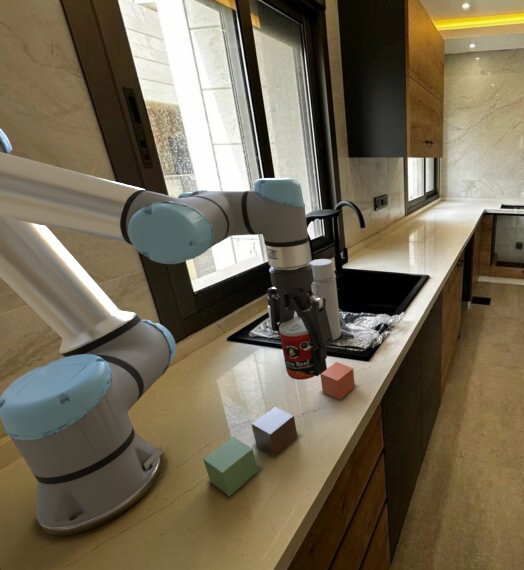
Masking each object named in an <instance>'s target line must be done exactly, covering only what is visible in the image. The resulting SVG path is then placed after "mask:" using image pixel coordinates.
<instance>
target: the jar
mask: <svg viewBox="0 0 524 570" xmlns="http://www.w3.org/2000/svg"><path fill="white" fill-rule="evenodd" d="M266 300H267V311H268V316H269V323H270V324H271V313H270V300H269V297H268V295H267V296H266ZM296 316H298V315H297V313H296V311H295V313H294V317H296ZM278 323H279V322H278ZM278 323H277V324H278ZM270 328H271V332H272V333H274V334H278V332H277V331H275V332H274V331H273V330H272V326H271V325H270Z"/></svg>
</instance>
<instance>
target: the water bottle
mask: <svg viewBox="0 0 524 570" xmlns="http://www.w3.org/2000/svg"><path fill="white" fill-rule="evenodd" d="M309 263H310V264H312V269H313V277H314V281H313V283H312V285H311V289H312V292H313V294H314V296H315V297H318V298H321V297H324V298H325V299H326V312H327V316H328V321H329V325H330V329H331V333H332V337H333V341H335V340H338V339H339V338H340V337H341V335H342V329H341V318H340V310H339V300H338V298H339V297H338V289H337V288H338V287H337V279H336V278H337V275H336V273H335V269H334V263H333V260H332V259H329V258H319V259H313V260H311V261H310V262H309Z"/></svg>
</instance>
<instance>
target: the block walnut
mask: <svg viewBox="0 0 524 570" xmlns="http://www.w3.org/2000/svg"><path fill="white" fill-rule="evenodd" d="M250 424H251V427H252V434H253V437H254V441H255V445H256V446H257V447H258V448H259V449H262V450H264V451H265V452H266V453H268V454H270V455H271V456H273V457H276V456H277V455H278V454H280V453H281V452H282V451H283V450H284V449H285V448H286V447H288V446H289V445H290V444H291V443H292V442H293V441H295V440H296V439H297V438H298V430H297V426H296V420H295V416H294V414H291V413H290V412H287V411H285V410H283V409H281V408H279V407H277V406H276V405H275V406H273V407H272V408H271V409H270V410H268V411H267V412H266V413H264V414H263V415H262V416H260V417H259V418H258V419H256V420H254V421H253V422H252V423H250Z"/></svg>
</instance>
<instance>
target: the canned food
mask: <svg viewBox="0 0 524 570" xmlns="http://www.w3.org/2000/svg"><path fill="white" fill-rule="evenodd" d="M279 332H280V336H279V338H280V343H281V348H282V354H283V360H284V364H285V370H286V371H285V372H286V373H287V375H288V377H290V378H291V379H292V380H298V381H299V380H302V381H303V380H309V379H312V378H314V377H316V376H315V374H314V367H313V360H312V354H311V348H312V347H313V344H312V341H311V339H310V337H309V333H308V330H306V328H305V325H304V323H303V321H302V319H301V318H299V317H298V316H296V317H294V318H293V319H291V320H289V321H287V322H285V323H284V322H283V323H281V325H280V326H279ZM318 341H319V340H318Z"/></svg>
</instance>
